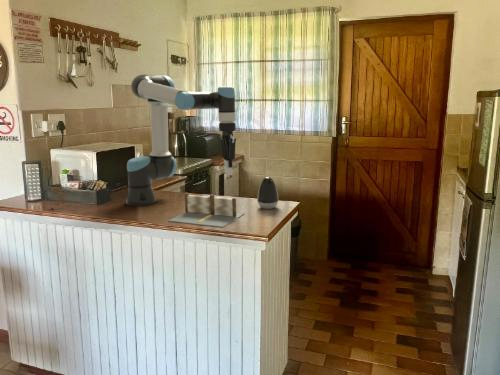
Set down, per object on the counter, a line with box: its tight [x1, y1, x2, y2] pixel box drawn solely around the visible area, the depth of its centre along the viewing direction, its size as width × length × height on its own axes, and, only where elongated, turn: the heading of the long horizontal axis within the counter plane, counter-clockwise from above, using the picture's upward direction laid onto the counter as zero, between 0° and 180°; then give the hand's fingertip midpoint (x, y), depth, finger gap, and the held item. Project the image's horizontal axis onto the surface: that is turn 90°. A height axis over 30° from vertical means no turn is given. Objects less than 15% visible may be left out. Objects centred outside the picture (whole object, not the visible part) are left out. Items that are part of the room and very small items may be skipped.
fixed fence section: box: [184, 192, 215, 215], centre depth 198 cm, size 16×3×9 cm, turn 66°
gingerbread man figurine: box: [51, 183, 68, 207], centre depth 215 cm, size 9×4×12 cm, turn 149°
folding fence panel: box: [214, 196, 237, 216], centre depth 193 cm, size 10×2×8 cm, turn 67°
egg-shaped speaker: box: [256, 176, 279, 210], centre depth 206 cm, size 10×10×15 cm
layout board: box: [167, 212, 245, 229], centre depth 193 cm, size 27×22×1 cm
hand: (228, 173), depth 197 cm, fingers open, 2 cm apart
